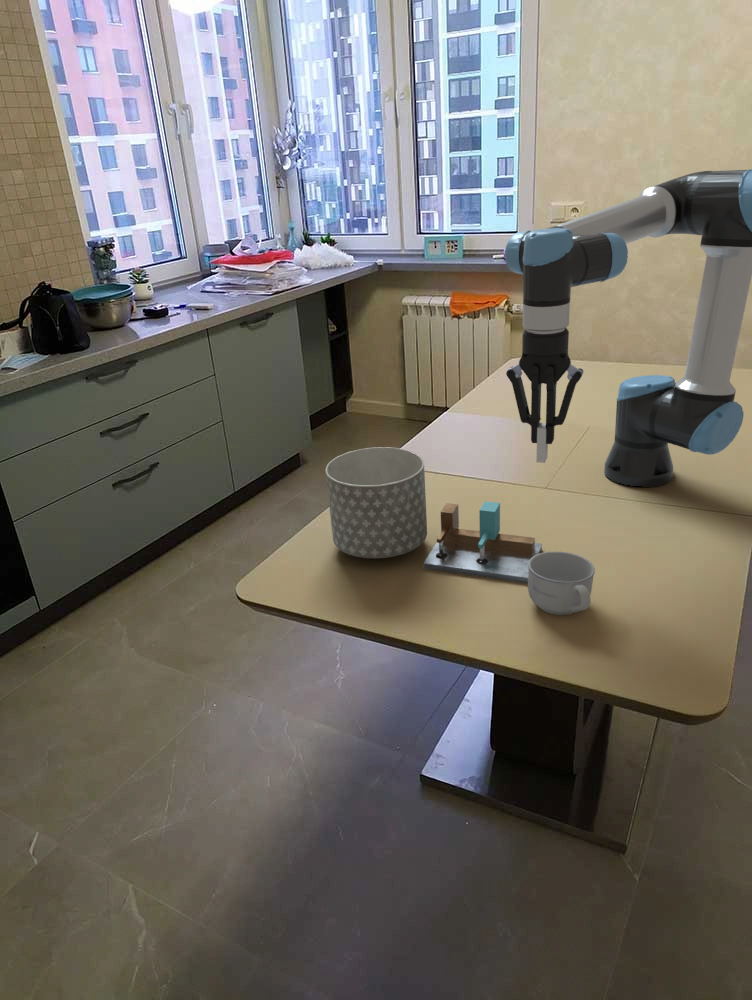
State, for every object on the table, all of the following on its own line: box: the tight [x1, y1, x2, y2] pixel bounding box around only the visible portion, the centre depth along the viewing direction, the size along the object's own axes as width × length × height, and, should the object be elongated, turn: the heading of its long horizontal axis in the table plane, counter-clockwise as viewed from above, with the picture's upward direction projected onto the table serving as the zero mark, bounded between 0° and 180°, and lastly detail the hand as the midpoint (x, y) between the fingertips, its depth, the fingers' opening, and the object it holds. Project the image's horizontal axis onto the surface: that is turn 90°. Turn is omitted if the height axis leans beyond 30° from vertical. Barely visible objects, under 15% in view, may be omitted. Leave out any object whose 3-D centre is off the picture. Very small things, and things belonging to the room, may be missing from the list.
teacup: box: [527, 551, 596, 616], centre depth 121 cm, size 14×11×8 cm
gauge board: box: [423, 502, 543, 584], centre depth 137 cm, size 20×13×9 cm, turn 68°
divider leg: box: [478, 500, 501, 560], centre depth 137 cm, size 3×9×8 cm, turn 158°
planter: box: [325, 446, 428, 559], centre depth 142 cm, size 19×19×18 cm
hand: (542, 459), depth 130 cm, fingers closed
